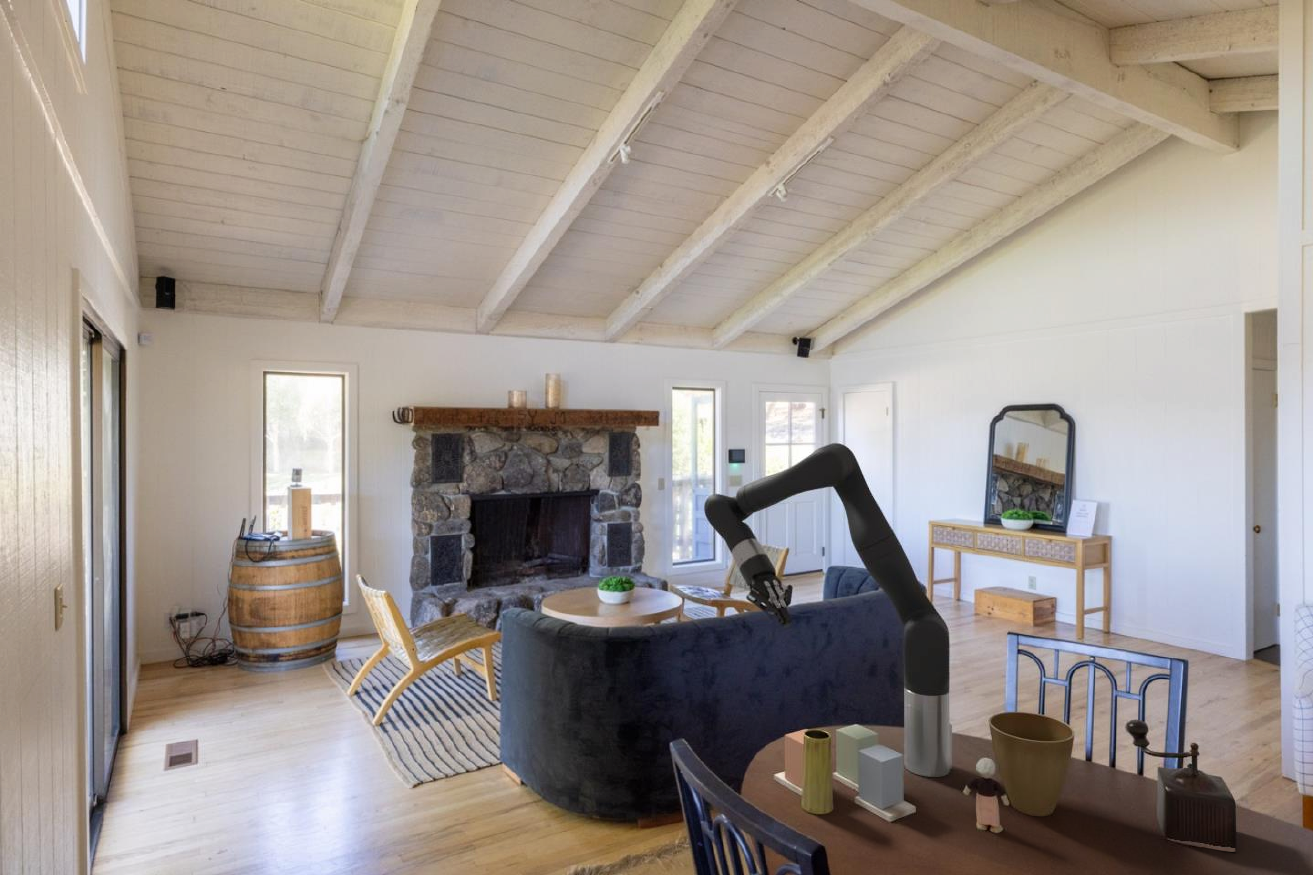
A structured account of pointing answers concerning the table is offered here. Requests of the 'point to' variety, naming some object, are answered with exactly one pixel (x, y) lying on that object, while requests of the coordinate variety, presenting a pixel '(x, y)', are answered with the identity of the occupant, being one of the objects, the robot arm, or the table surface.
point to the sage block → (852, 748)
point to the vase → (817, 772)
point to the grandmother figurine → (987, 796)
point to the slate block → (880, 776)
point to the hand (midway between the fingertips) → (787, 624)
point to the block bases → (858, 798)
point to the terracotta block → (794, 757)
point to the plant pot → (1032, 758)
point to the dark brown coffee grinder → (1190, 798)
